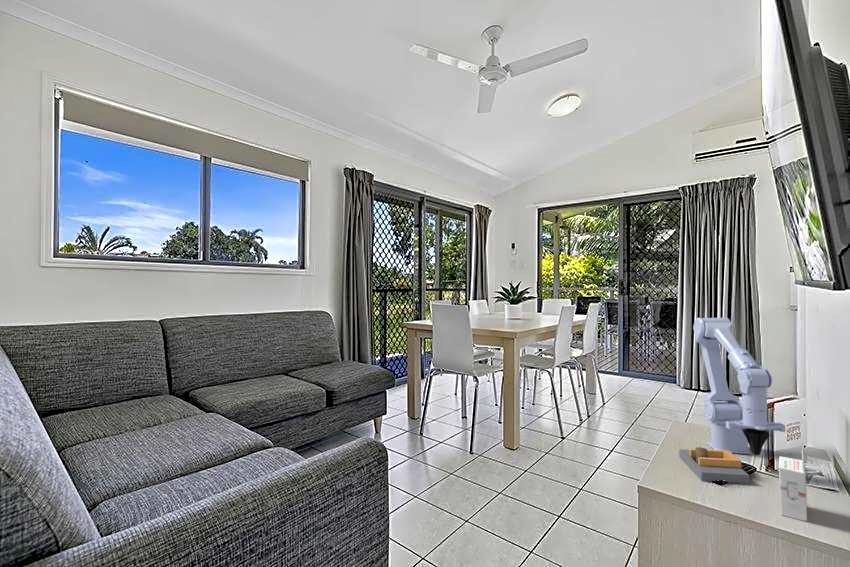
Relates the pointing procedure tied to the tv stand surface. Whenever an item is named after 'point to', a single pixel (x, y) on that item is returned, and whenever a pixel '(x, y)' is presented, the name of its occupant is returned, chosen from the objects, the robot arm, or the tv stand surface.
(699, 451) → the peg
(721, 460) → the cap
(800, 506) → the ink cartridge box
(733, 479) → the housing
